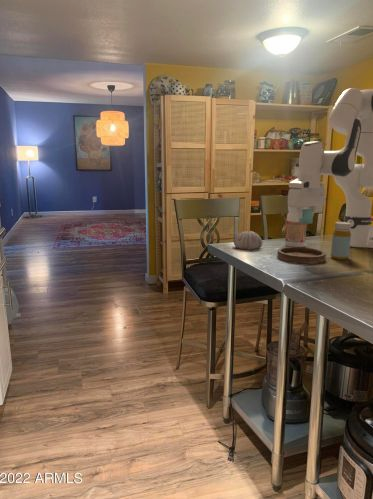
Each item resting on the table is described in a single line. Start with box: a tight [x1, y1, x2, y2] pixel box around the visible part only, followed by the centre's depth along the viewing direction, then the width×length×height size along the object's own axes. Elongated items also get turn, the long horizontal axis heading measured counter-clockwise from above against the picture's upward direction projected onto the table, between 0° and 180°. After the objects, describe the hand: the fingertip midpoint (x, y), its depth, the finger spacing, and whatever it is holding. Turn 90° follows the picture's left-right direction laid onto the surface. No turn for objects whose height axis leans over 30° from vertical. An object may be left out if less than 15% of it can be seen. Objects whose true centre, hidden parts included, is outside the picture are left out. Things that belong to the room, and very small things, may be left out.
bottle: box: [330, 221, 351, 261], centre depth 159 cm, size 7×7×15 cm
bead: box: [299, 208, 314, 225], centre depth 156 cm, size 5×5×6 cm
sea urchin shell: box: [233, 230, 264, 251], centre depth 178 cm, size 13×14×8 cm
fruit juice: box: [284, 205, 309, 247], centre depth 182 cm, size 9×9×28 cm
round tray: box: [276, 246, 327, 265], centre depth 160 cm, size 19×19×3 cm
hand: (305, 217), depth 156 cm, fingers closed on bead, 5 cm apart
